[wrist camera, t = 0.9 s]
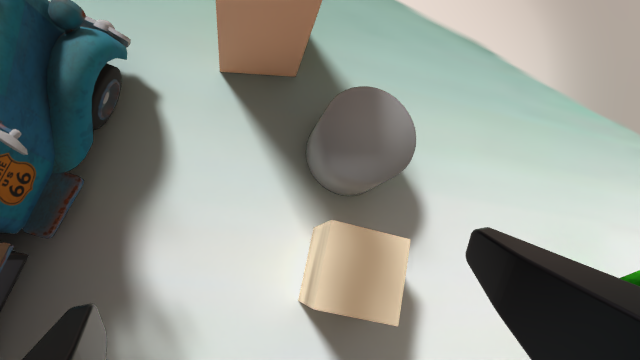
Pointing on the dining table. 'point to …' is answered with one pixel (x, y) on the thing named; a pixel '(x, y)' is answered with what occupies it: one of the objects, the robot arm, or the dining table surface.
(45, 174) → the toy truck
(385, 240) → the beech cube
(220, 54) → the peach block
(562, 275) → the robot arm
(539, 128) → the dining table surface
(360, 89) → the grey domed cylinder
